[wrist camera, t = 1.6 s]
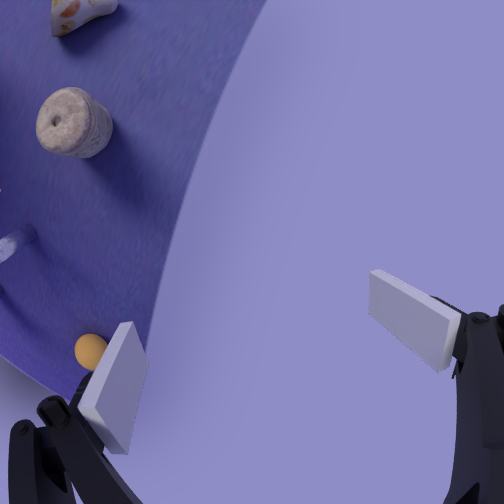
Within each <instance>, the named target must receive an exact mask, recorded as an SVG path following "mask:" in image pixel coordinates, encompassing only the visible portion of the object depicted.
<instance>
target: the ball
mask: <svg viewBox="0 0 504 504" xmlns="http://www.w3.org/2000/svg"><path fill="white" fill-rule="evenodd" d="M107 346H108V345H107V343H106V342H105V340H104V339H103V338H101V337H100V336H98V335H96V334H85V335H83V336H81V337H80V338H79V339H78V341H77V342H76V345H75V355H76V358H77V360H78V362H79V363H80V364H81V365H82V366H83V367H85V368H86V369H89V370H95V369H96V367H97V365H98V363H99V362H100V360H101V358H102V356H103V354H104V352H105V350H106V348H107Z"/></svg>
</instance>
